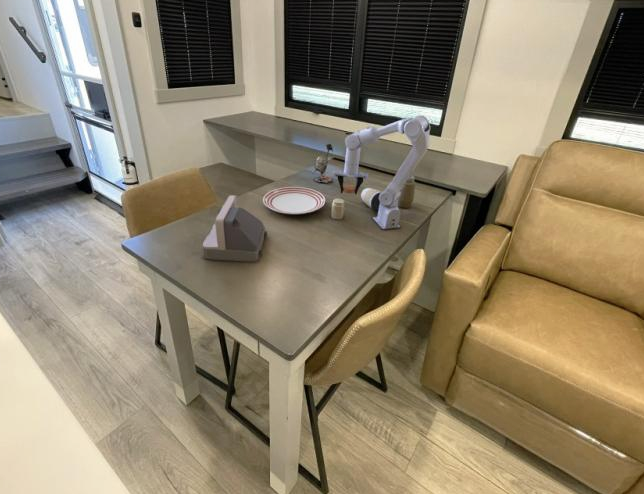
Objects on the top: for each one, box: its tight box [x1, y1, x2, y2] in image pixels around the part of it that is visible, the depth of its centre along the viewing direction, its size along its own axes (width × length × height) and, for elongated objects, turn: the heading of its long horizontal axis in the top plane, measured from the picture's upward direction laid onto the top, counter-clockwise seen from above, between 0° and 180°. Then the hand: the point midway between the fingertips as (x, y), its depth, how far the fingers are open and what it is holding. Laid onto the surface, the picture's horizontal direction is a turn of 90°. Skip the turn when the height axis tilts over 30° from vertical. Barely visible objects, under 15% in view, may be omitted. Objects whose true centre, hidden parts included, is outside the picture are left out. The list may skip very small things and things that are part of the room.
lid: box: [342, 184, 356, 194], centre depth 141 cm, size 6×6×2 cm
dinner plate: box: [262, 186, 326, 216], centre depth 146 cm, size 27×27×3 cm
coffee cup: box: [360, 187, 382, 213], centre depth 145 cm, size 9×9×15 cm
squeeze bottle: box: [398, 173, 416, 209], centre depth 149 cm, size 8×8×18 cm
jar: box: [330, 198, 346, 220], centre depth 138 cm, size 5×5×7 cm
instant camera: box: [202, 195, 268, 263], centre depth 113 cm, size 21×21×15 cm
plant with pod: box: [312, 142, 334, 184], centre depth 169 cm, size 8×11×20 cm
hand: (348, 192), depth 142 cm, fingers closed on lid, 5 cm apart
